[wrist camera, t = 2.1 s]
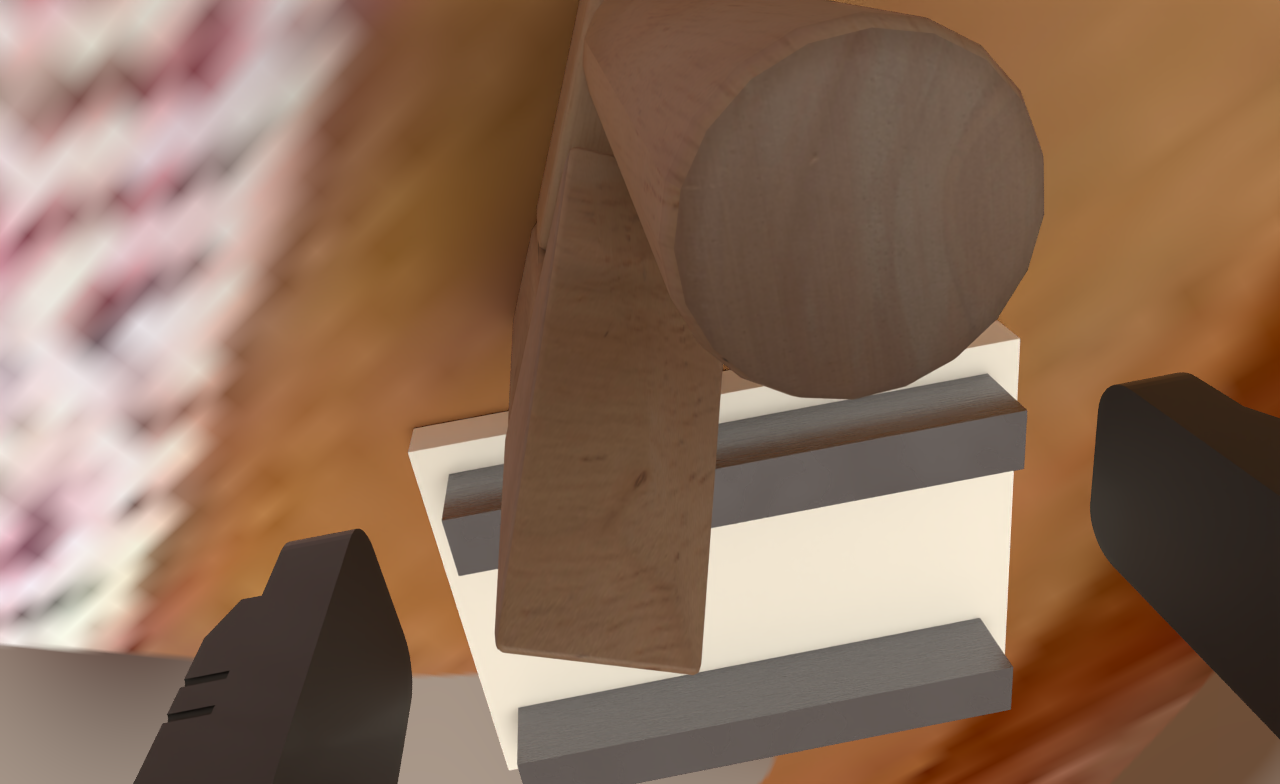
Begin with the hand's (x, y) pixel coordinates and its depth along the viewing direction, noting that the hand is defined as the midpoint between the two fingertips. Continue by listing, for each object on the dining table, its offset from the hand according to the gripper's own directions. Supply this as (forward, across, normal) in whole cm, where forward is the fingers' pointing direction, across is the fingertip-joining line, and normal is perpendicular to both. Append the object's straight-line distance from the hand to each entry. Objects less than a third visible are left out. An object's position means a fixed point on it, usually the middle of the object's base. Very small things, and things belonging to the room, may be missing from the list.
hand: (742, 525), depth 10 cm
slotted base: (+18, -2, +14) cm, 22 cm away
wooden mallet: (+18, 0, 0) cm, 18 cm away
